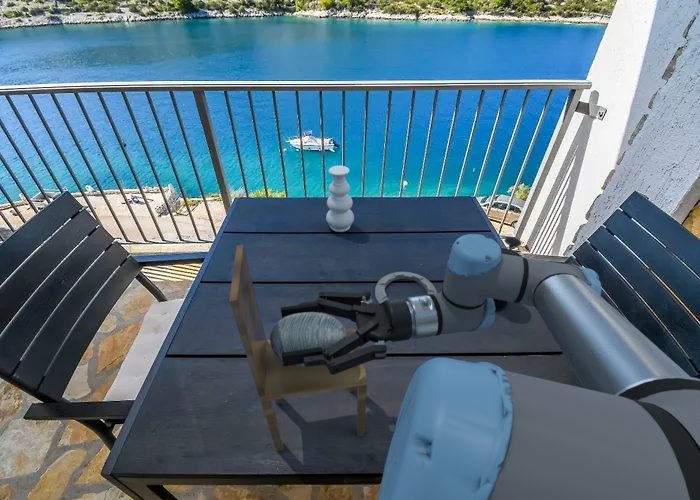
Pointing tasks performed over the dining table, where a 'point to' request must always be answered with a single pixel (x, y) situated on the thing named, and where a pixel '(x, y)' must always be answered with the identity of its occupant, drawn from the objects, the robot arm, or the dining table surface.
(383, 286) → the ring
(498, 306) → the french press
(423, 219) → the dining table surface
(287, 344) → the grey streaked ellipsoid
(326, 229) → the dining table surface
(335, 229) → the vase
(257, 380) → the wooden chair
